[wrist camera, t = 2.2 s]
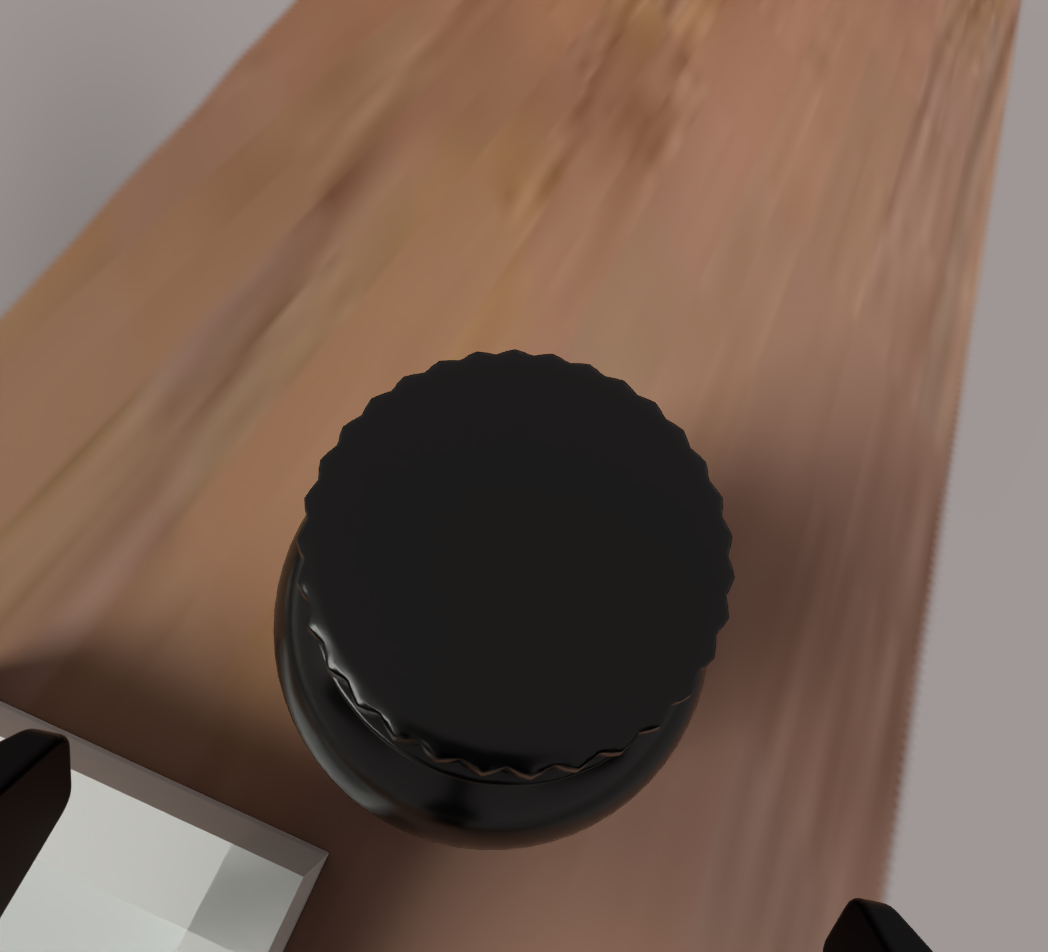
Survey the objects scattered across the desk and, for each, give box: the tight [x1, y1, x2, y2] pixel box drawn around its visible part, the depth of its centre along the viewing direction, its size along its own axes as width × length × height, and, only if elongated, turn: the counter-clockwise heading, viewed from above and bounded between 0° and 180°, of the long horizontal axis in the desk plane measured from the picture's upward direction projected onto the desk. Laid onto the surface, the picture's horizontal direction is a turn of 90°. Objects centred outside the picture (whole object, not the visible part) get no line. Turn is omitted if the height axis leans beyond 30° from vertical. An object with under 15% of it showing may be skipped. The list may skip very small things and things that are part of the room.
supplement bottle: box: [274, 349, 735, 850], centre depth 13 cm, size 7×7×12 cm
